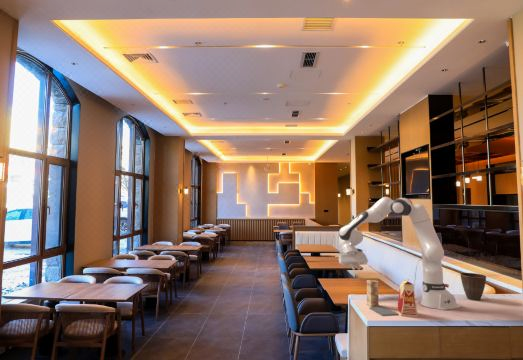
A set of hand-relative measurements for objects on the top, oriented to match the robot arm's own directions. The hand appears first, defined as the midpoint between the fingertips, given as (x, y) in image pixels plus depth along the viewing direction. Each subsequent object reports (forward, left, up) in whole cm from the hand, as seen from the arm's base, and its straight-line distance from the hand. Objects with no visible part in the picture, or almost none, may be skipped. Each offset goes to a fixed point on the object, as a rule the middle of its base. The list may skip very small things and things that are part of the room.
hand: (356, 269), depth 233 cm
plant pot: (-76, +17, -19) cm, 80 cm away
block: (0, +20, -18) cm, 27 cm away
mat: (0, +32, -18) cm, 37 cm away
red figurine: (-11, +39, -19) cm, 44 cm away
